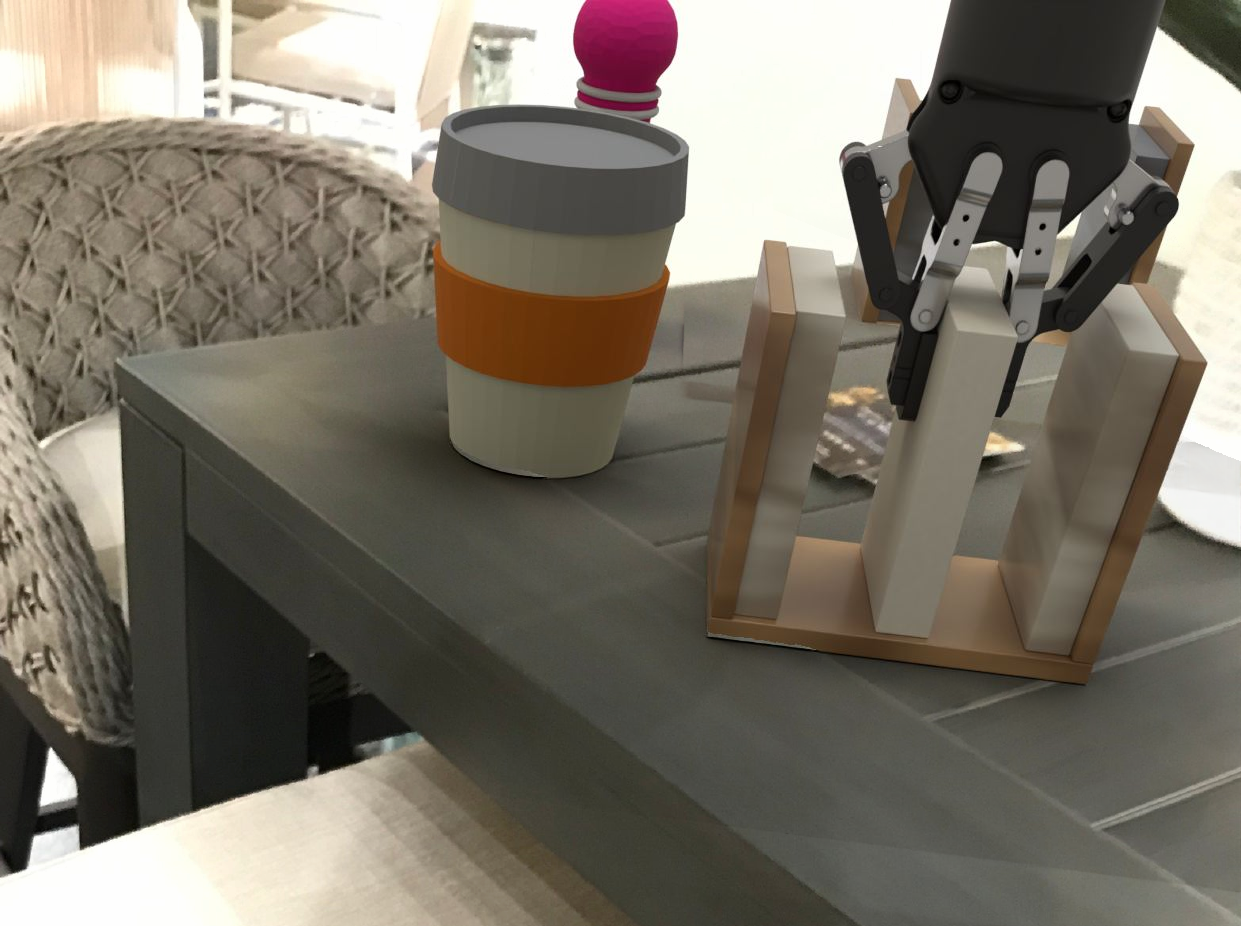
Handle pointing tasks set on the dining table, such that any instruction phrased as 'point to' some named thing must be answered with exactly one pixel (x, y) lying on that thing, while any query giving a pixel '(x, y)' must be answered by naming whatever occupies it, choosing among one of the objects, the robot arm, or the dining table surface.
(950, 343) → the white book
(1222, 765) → the dining table surface
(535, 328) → the reusable coffee cup
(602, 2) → the pepper mill
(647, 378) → the dining table surface
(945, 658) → the white rack
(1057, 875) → the dining table surface
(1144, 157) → the grey rack
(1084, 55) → the robot arm
